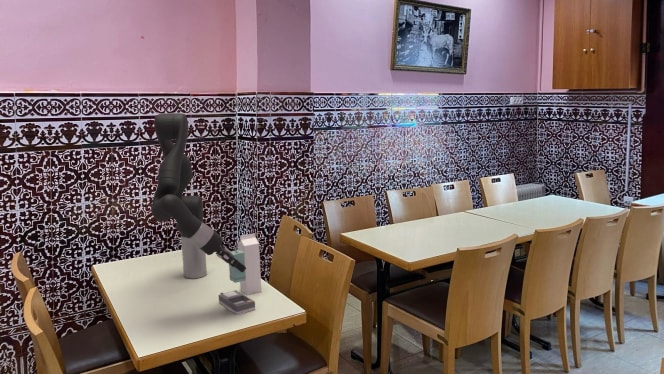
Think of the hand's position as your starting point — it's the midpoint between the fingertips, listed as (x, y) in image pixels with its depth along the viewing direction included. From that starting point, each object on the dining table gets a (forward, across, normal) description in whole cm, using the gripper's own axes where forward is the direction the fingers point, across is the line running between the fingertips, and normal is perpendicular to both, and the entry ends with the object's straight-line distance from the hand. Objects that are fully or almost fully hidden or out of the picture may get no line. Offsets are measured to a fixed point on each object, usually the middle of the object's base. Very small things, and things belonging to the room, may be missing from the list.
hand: (242, 267), depth 192 cm
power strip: (+8, +4, +12) cm, 15 cm away
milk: (+14, +14, +6) cm, 21 cm away
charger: (+2, 0, +4) cm, 5 cm away
